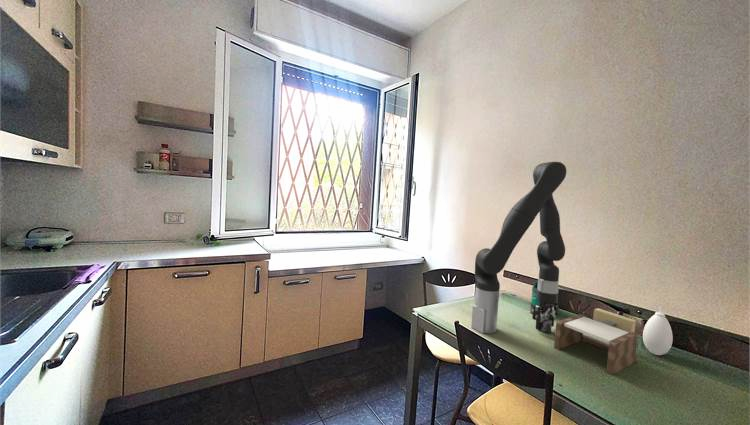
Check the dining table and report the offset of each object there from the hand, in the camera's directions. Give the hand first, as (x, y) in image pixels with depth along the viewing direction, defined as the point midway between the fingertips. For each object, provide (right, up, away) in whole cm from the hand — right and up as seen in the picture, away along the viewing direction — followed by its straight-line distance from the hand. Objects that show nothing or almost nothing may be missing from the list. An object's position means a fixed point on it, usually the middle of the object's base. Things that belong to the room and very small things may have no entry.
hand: (544, 327), depth 122 cm
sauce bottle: (+32, -4, -15) cm, 36 cm away
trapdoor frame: (+7, -3, -17) cm, 19 cm away
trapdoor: (+11, +4, -16) cm, 20 cm away
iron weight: (0, -1, 0) cm, 1 cm away
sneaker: (+12, -1, +25) cm, 28 cm away
